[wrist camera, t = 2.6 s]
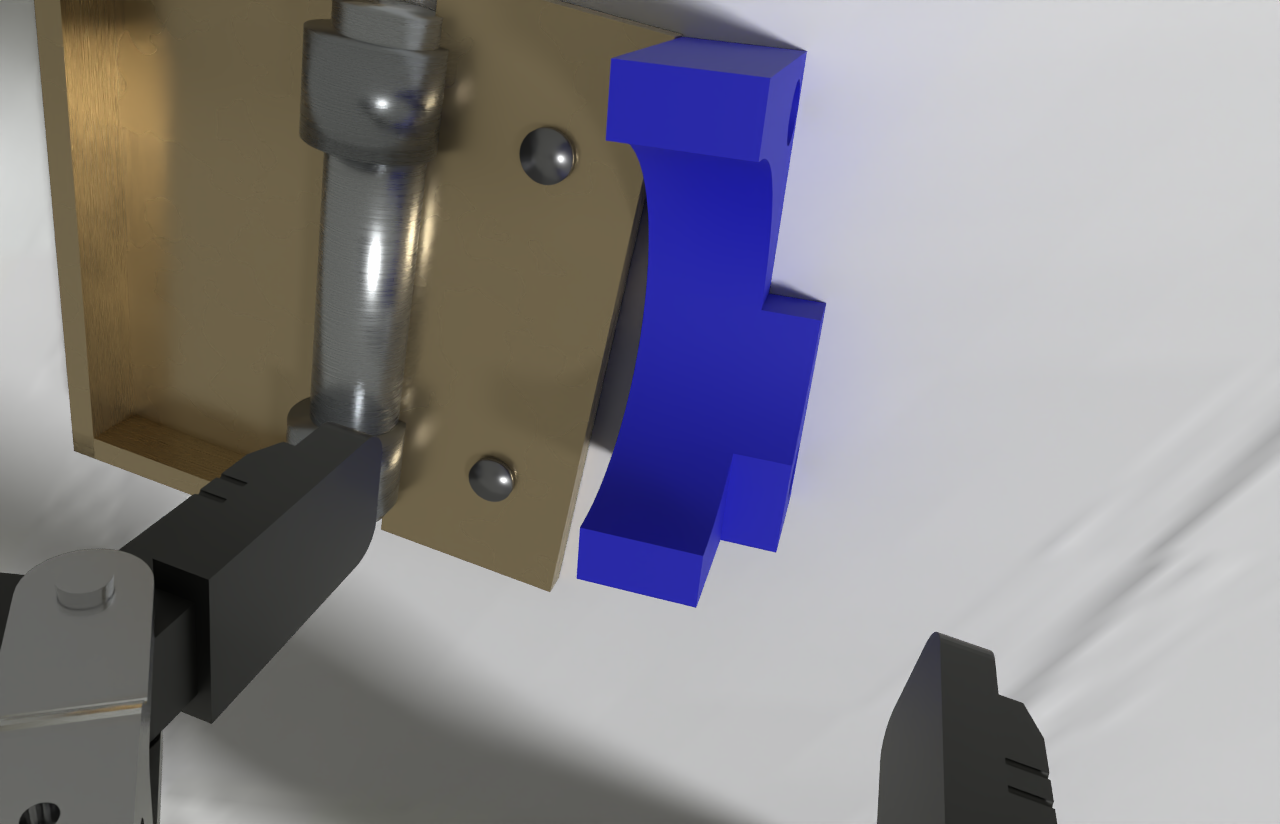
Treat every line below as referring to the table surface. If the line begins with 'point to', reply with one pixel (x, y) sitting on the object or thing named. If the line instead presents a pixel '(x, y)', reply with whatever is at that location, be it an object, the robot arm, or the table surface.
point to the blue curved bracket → (705, 319)
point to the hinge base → (346, 245)
